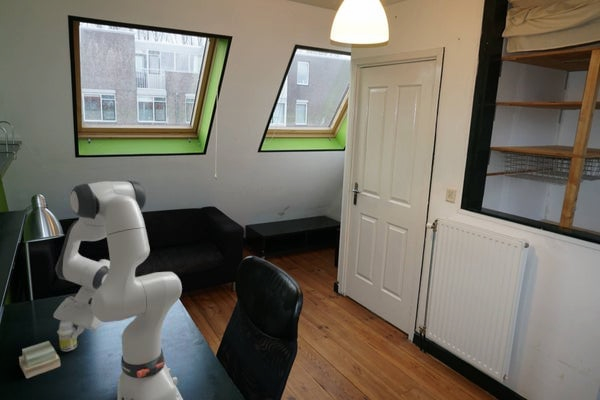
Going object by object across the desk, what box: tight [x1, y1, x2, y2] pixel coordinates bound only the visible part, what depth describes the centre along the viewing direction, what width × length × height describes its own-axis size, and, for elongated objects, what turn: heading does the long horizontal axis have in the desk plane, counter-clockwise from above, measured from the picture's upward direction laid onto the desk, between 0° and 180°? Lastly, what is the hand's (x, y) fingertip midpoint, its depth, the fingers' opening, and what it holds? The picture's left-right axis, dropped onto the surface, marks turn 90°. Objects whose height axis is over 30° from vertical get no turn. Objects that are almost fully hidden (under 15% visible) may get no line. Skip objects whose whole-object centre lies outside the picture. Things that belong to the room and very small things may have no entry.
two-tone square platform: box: [18, 340, 61, 379], centre depth 140 cm, size 10×10×6 cm
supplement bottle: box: [58, 321, 78, 352], centre depth 149 cm, size 5×5×10 cm
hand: (66, 336), depth 148 cm, fingers closed on supplement bottle, 5 cm apart
